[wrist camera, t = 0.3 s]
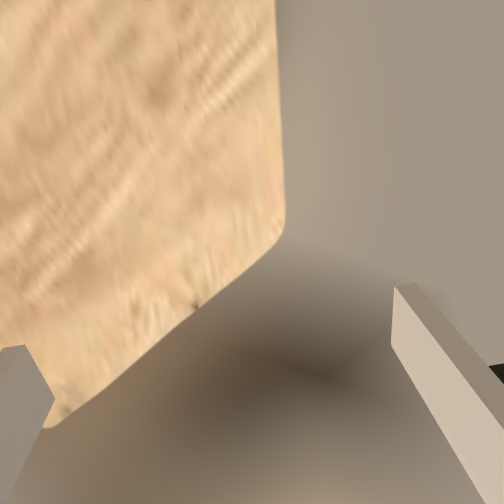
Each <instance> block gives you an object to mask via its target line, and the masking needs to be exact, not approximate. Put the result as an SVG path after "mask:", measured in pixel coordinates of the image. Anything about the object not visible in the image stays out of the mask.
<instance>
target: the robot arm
mask: <svg viewBox="0 0 504 504" xmlns="http://www.w3.org/2000/svg"><path fill="white" fill-rule="evenodd" d="M391 346H392V347H393V349H394V351H395V352H396V354H397V356H398V358H399V359H400V361H401V363H402V364H403V366H404V368H405V369H406V371H407V373H408V374H409V376H410V378H411V379H412V381H413V383H414V384H415V386H416V388H417V389H418V391H419V393H420V394H421V396H422V398H423V400H424V401H425V403H426V405H427V406H428V408H429V409H430V411H431V413H432V415H433V416H434V418H435V420H436V421H437V423H438V425H439V426H440V428H441V430H442V431H443V433H444V435H445V437H446V438H447V440H448V442H449V443H450V445H451V447H452V448H453V450H454V452H455V453H456V455H457V457H458V458H459V460H460V462H461V463H462V465H463V467H464V468H465V470H466V472H467V473H468V475H469V477H470V479H471V480H472V482H473V483H474V485H475V487H476V489H477V490H478V492H479V494H480V495H481V497H482V499H483V500H484V502H485V504H504V364H498V365H492V366H487V364H486V363H485V362H484V361H483V360H482V359H481V358H480V357H479V356H478V354H477V353H476V352H475V351H474V349H473V348H472V347H471V346H470V345H469V344H468V342H467V341H466V340H465V339H464V338H463V337H462V336H461V334H460V333H459V332H458V331H457V330H456V329H455V327H454V326H453V325H452V324H451V323H450V322H449V321H448V319H447V318H446V317H445V316H444V315H443V314H442V312H440V310H439V309H438V308H437V307H436V306H435V304H433V302H432V301H431V300H430V299H429V297H428V296H427V295H426V294H425V293H424V292H423V291H422V289H421V288H420V287H419V286H418V285H417V284H416V283H412V284H405V285H399V286H395V288H394V303H393V321H392V336H391ZM54 400H55V397H54V395H53V394H52V392H51V390H50V388H49V386H48V385H47V383H46V381H45V379H44V378H43V376H42V374H41V372H40V370H39V369H38V367H37V365H36V363H35V362H34V360H33V358H32V356H31V354H30V353H29V351H28V349H27V347H26V346H25V345H20V346H13V347H7V348H3V349H2V350H1V352H0V504H6V502H7V500H8V498H9V496H10V493H11V491H12V489H13V487H14V484H15V483H16V481H17V479H18V476H19V474H20V472H21V470H22V468H23V466H24V464H25V462H26V459H27V457H28V455H29V453H30V451H31V449H32V447H33V445H34V443H35V440H36V438H37V436H38V434H39V432H40V429H41V428H42V426H43V423H44V421H45V419H46V417H47V415H48V413H49V411H50V409H51V406H52V404H53V402H54Z"/></svg>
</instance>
